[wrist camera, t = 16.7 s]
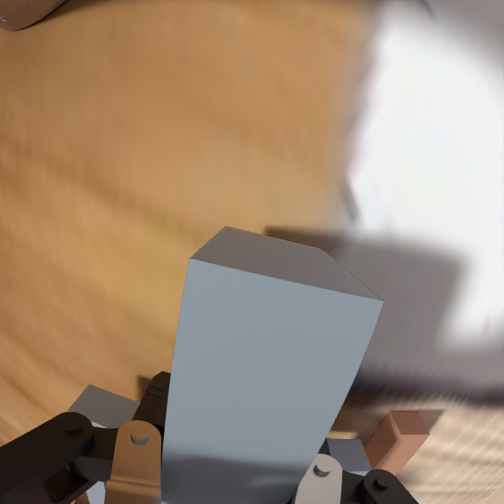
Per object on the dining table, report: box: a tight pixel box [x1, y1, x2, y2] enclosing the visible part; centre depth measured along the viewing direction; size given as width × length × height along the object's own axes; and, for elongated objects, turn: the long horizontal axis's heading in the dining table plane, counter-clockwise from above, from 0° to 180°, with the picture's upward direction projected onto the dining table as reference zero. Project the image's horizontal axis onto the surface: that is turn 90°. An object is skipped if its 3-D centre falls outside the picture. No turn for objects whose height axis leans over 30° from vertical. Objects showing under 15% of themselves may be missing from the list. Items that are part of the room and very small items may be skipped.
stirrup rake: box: [68, 226, 384, 504], centre depth 10 cm, size 23×14×6 cm, turn 167°
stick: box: [364, 411, 430, 476], centre depth 15 cm, size 10×2×2 cm, turn 164°
